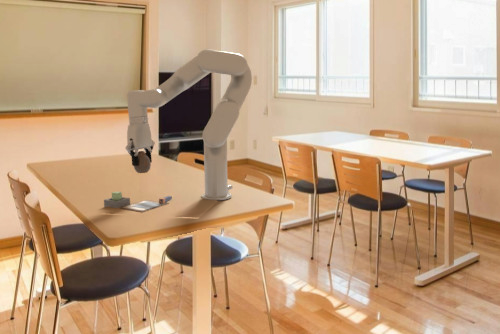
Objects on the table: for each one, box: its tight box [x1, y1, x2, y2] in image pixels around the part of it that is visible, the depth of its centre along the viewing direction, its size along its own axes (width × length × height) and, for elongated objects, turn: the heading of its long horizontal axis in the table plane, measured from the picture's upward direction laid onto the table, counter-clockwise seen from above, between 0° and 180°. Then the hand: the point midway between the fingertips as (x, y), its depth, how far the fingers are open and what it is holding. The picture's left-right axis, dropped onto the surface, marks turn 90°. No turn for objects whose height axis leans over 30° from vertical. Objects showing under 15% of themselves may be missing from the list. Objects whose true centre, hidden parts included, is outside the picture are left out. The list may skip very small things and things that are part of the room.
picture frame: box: [118, 199, 169, 213], centre depth 195 cm, size 15×12×1 cm
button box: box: [103, 196, 131, 209], centre depth 197 cm, size 7×7×3 cm
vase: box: [133, 150, 152, 174], centre depth 206 cm, size 7×7×9 cm
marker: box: [158, 195, 173, 203], centre depth 202 cm, size 10×2×2 cm, turn 169°
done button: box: [111, 191, 123, 201], centre depth 196 cm, size 4×4×4 cm
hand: (142, 163), depth 206 cm, fingers closed on vase, 6 cm apart
